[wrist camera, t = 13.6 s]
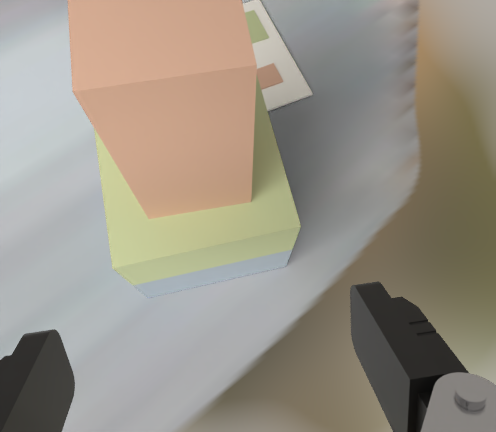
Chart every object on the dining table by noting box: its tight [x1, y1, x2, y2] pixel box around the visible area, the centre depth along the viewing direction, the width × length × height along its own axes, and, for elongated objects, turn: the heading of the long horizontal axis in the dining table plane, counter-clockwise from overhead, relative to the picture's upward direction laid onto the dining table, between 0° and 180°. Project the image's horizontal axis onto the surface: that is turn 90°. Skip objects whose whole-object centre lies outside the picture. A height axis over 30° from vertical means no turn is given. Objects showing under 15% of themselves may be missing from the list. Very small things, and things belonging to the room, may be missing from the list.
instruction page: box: [243, 0, 313, 111], centre depth 34 cm, size 10×8×1 cm
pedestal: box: [94, 74, 301, 298], centre depth 26 cm, size 9×9×8 cm
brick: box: [68, 0, 257, 219], centre depth 18 cm, size 5×5×10 cm
